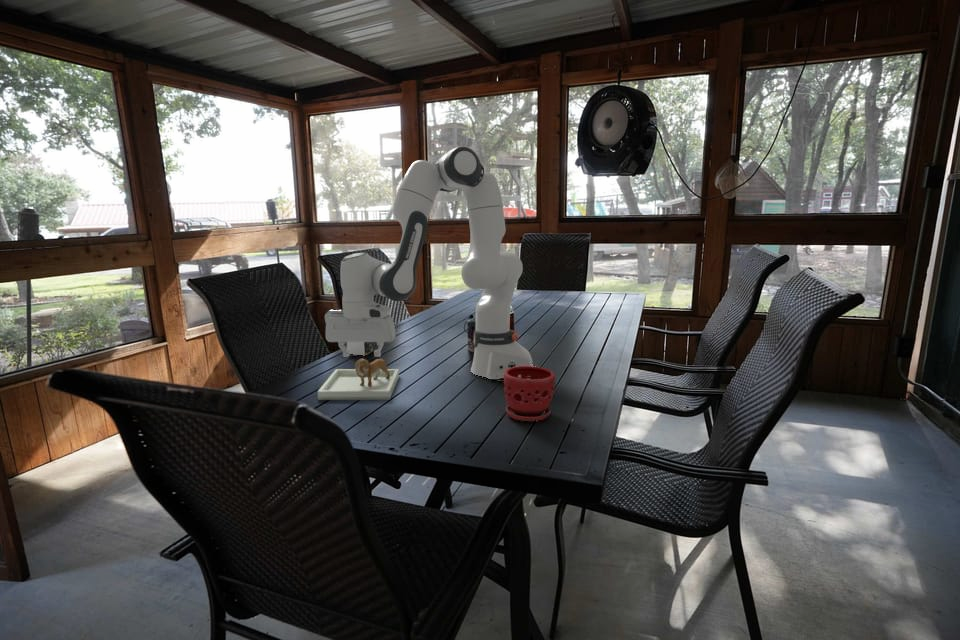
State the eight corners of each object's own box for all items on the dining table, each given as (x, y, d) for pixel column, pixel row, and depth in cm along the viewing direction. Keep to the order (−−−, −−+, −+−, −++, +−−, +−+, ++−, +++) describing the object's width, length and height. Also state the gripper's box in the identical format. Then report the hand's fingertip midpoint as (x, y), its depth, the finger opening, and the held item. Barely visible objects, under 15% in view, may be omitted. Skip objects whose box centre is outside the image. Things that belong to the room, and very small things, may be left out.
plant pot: (561, 422, 131) (563, 377, 128) (513, 428, 127) (514, 382, 125) (541, 403, 143) (542, 362, 141) (496, 408, 140) (497, 366, 137)
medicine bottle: (365, 356, 187) (363, 324, 184) (346, 355, 188) (345, 323, 185) (373, 351, 194) (371, 319, 191) (355, 349, 195) (353, 318, 192)
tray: (399, 376, 165) (398, 369, 164) (389, 399, 145) (389, 391, 145) (336, 376, 164) (335, 369, 164) (318, 399, 145) (317, 391, 144)
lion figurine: (366, 391, 149) (365, 361, 147) (351, 389, 151) (349, 359, 149) (394, 376, 162) (393, 349, 160) (379, 374, 164) (378, 347, 162)
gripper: (319, 312, 147) (323, 358, 149) (389, 311, 144) (392, 359, 147) (328, 308, 153) (332, 353, 156) (395, 307, 150) (398, 353, 153)
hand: (362, 356), depth 151 cm, fingers open, 8 cm apart
